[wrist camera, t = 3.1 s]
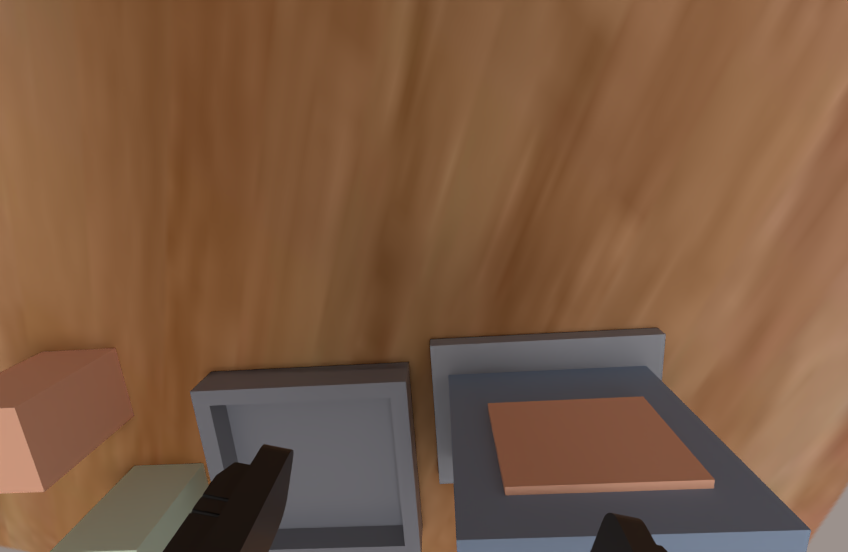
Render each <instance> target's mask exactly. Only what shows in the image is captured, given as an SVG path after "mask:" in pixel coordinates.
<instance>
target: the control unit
mask: <svg viewBox="0 0 848 552" xmlns="http://www.w3.org/2000/svg"><path fill="white" fill-rule="evenodd" d="M665 335H666V334H665V333H663V332H662V331H661V330H660V329H658V328H644V329H625V330H605V331H585V332H566V333H546V334H526V335H507V336H487V337H468V338H448V339H430V352H431V366H432V381H433V395H434V409H435V424H436V438H437V452H438V467H439V481H440V484H445V483H454V499H455V519H456V539H457V552H590V551H591V549H592V546H593V544H594V541H595V538H596V536H597V533H598V531H599V528H600V526H601V523H602V520H603V518H604V516H605V515H606V514H607V513H615V514H620V515H625V516H630V517H635V518H639V519H641V520H642V521H643V522H644V524H645V525H646V527H647V529H648V531H649V532H650V534H651V536H652V538H653V539H654V541H655V543H656V545H661V546H663V547H664V548H665V549H666V550H667V552H806V551H807V546H808V542H809V537H810V532H811V530H810V529H809V528H808V527H807V526H806V525H805V524H804V523H803V522H802V521H801V520H800V519H799V518H798V517H797V516H796V515H795V514H794V513H793V512H792V511H791V510H790V509H789V508H788V507H787V506H786V505H785V504H784V503H783V502H782V501H781V500H780V499H779V498H778V497H777V496H776V495H775V494H774V493H773V492H772V491H771V490H770V489H769V488H768V487H767V486H766V485H765V484H764V483H763V482H762V481H761V480H760V479H759V478H758V477H757V476H756V475H755V474H754V473H753V472H752V471H751V470H750V469H749V468H748V467H747V466H746V465H745V464H744V463H743V462H742V461H741V460H740V459H739V458H738V457H737V456H736V455H735V454H734V453H733V452H732V451H731V450H730V449H729V448H728V447H727V446H726V445H725V444H724V443H723V442H722V441H721V440H720V439H719V438H718V437H717V436H716V435H715V434H714V433H713V432H712V431H711V430H710V429H709V428H708V427H707V426H706V425H705V424H704V423H703V422H702V421H701V420H700V419H699V418H698V417H697V416H696V415H695V414H694V413H693V412H692V411H691V410H690V409H689V408H688V407H687V406H686V405H685V404H684V403H683V402H682V401H681V400H680V399H679V398H678V397H677V396H676V395H675V394H674V393H673V392H672V391H671V390H670V389H669V388H668V387H667V386H666V385H665V384H664V383H663V382H662V371H663V359H664V347H665Z"/></svg>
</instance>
